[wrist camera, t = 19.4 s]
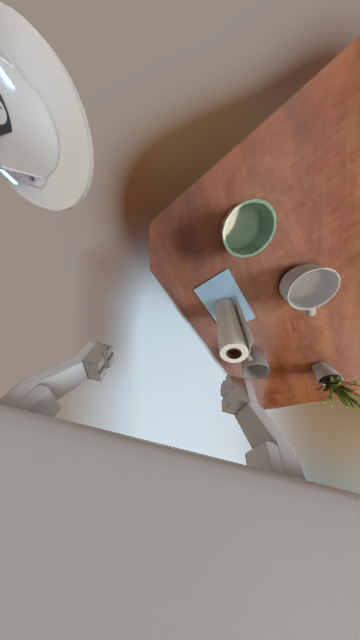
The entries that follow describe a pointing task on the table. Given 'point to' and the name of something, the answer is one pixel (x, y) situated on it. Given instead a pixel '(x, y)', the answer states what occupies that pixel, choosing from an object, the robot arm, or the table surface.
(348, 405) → the house plant
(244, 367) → the mug
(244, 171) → the table surface
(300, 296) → the teacup
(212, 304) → the mat
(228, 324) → the paper towel roll
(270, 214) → the sage green pencil cup
